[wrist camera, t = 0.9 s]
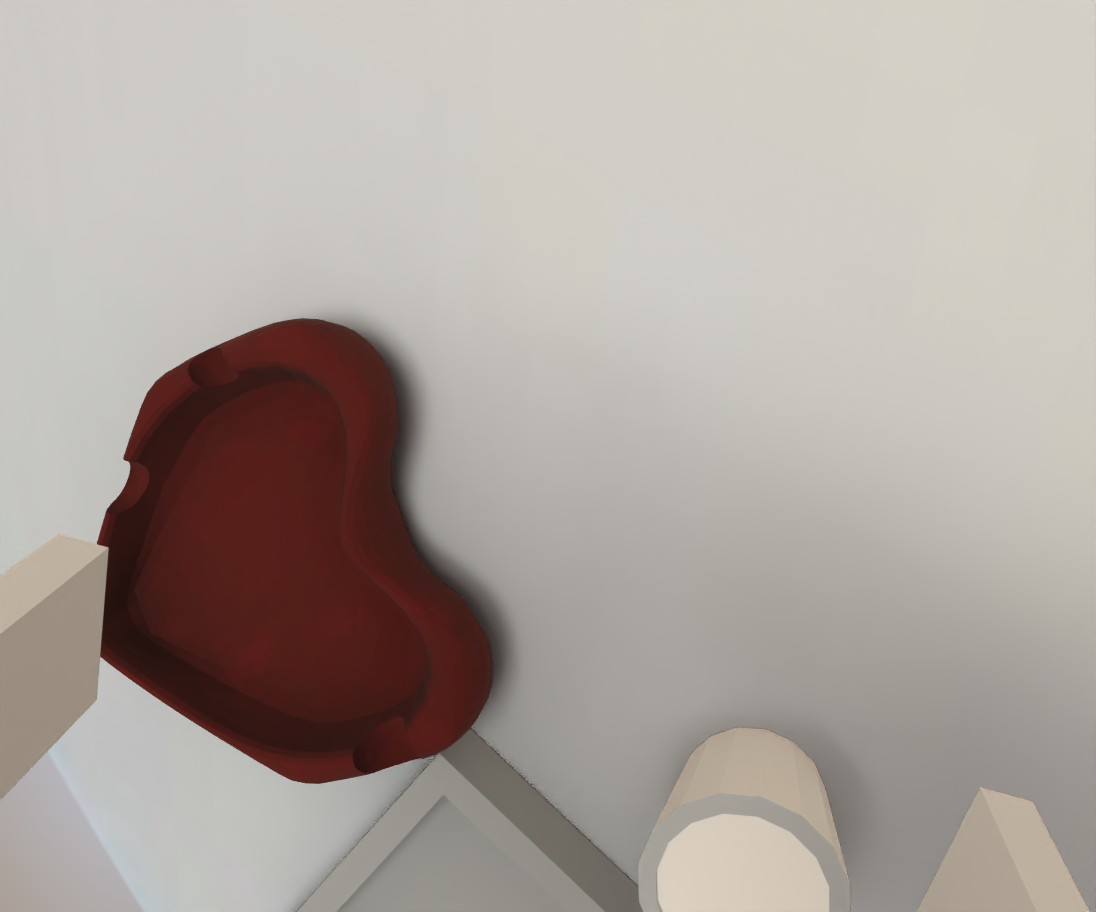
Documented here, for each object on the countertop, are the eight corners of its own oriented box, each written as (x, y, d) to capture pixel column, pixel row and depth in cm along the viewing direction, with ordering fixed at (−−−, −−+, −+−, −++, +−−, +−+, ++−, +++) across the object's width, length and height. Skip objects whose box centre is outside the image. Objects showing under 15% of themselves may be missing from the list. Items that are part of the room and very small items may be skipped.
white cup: (651, 850, 39) (619, 957, 32) (681, 692, 38) (655, 770, 31) (823, 900, 38) (828, 1023, 31) (860, 737, 36) (873, 828, 30)
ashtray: (82, 422, 44) (-7, 433, 39) (389, 291, 39) (332, 286, 34) (219, 786, 44) (148, 841, 40) (538, 699, 40) (502, 749, 35)
